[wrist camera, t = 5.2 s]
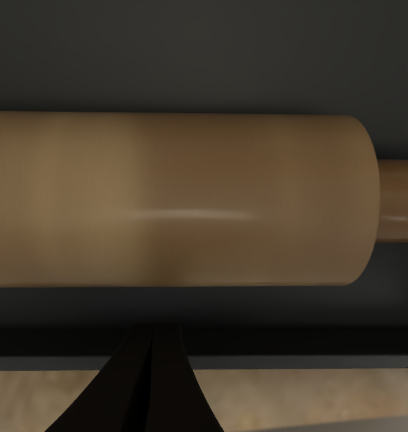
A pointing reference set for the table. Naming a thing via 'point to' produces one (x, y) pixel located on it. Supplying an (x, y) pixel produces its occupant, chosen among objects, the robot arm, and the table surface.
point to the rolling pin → (192, 199)
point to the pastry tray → (225, 104)
